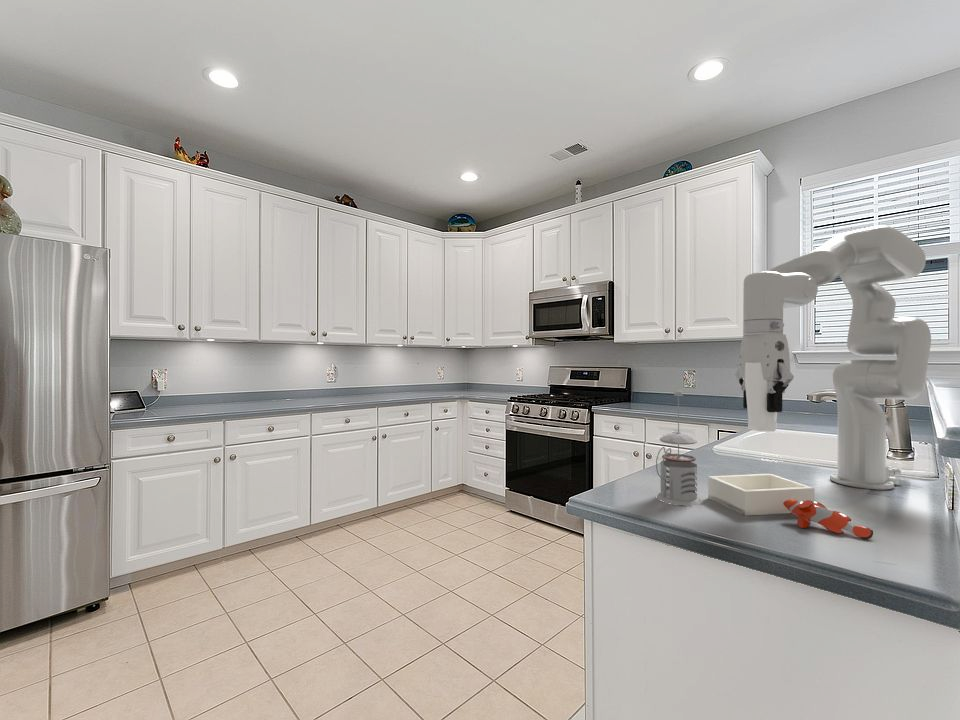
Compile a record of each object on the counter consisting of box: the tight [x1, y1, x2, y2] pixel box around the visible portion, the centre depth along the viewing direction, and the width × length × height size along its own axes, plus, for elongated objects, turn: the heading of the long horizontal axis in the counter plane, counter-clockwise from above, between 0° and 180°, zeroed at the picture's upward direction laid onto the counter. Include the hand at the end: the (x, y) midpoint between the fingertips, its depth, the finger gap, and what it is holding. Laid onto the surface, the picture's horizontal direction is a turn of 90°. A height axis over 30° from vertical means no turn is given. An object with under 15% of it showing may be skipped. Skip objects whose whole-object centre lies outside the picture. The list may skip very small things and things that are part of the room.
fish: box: [783, 499, 874, 540], centre depth 87 cm, size 13×5×9 cm
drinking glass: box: [745, 362, 778, 433], centre depth 101 cm, size 7×7×15 cm
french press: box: [655, 390, 703, 507], centre depth 105 cm, size 10×12×25 cm
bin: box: [707, 473, 815, 517], centre depth 101 cm, size 16×12×5 cm
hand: (762, 409), depth 101 cm, fingers closed on drinking glass, 6 cm apart
